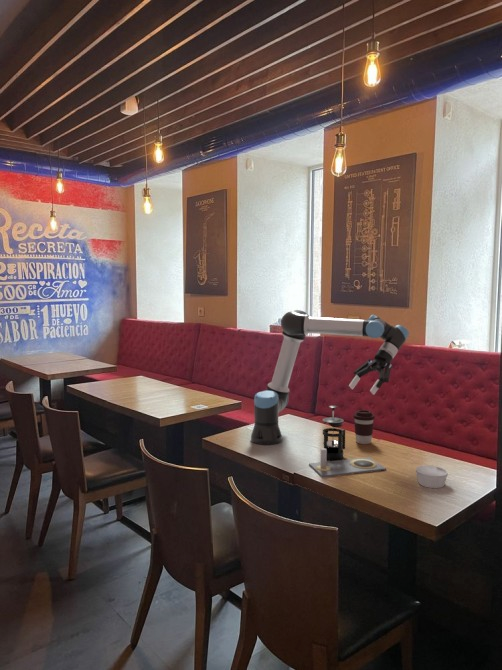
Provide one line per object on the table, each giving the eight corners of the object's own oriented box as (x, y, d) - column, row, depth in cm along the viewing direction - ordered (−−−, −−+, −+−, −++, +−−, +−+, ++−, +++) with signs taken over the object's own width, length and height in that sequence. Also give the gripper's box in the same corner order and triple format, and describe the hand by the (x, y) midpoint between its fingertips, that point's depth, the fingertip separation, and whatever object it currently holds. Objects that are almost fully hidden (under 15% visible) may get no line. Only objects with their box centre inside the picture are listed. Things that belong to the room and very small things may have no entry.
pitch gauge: (308, 465, 206) (309, 444, 205) (369, 458, 213) (369, 439, 212) (322, 477, 192) (322, 455, 191) (386, 470, 199) (386, 449, 199)
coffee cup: (358, 437, 243) (358, 408, 242) (377, 441, 238) (377, 410, 236) (349, 443, 235) (350, 412, 234) (369, 446, 230) (370, 415, 228)
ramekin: (453, 487, 182) (454, 474, 181) (427, 491, 179) (428, 477, 178) (434, 476, 192) (434, 463, 192) (409, 480, 189) (409, 466, 189)
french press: (330, 463, 208) (331, 409, 206) (316, 456, 216) (316, 405, 214) (351, 458, 214) (351, 406, 212) (336, 452, 222) (336, 402, 220)
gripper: (411, 362, 216) (385, 400, 210) (370, 356, 238) (346, 390, 232) (402, 351, 213) (377, 389, 207) (362, 346, 235) (338, 380, 228)
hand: (360, 390), depth 219 cm, fingers open, 13 cm apart
